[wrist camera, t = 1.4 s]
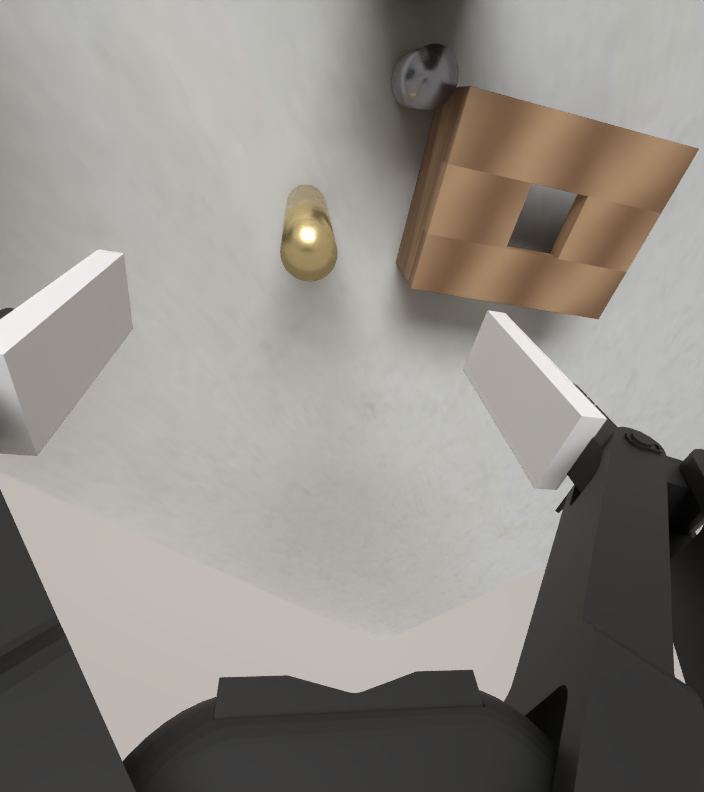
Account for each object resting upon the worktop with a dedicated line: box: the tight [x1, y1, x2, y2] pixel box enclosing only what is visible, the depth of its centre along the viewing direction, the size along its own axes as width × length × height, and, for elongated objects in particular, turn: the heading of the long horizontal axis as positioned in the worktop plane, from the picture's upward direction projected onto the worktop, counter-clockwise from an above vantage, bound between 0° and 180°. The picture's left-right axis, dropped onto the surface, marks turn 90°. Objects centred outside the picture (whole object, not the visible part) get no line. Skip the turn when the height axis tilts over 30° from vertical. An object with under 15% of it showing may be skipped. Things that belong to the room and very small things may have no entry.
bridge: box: [396, 86, 699, 319], centre depth 30 cm, size 16×12×6 cm
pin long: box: [280, 185, 337, 281], centre depth 26 cm, size 3×3×12 cm
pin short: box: [391, 44, 458, 110], centre depth 25 cm, size 3×3×5 cm
